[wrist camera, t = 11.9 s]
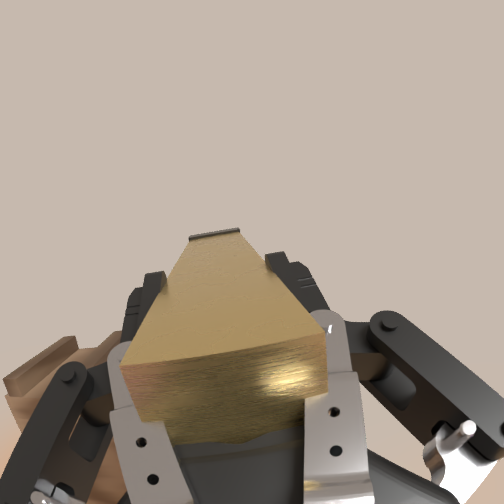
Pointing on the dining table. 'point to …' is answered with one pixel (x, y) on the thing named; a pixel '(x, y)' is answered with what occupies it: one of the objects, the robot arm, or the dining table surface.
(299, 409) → the rod
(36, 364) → the brown tall rectangular frame
